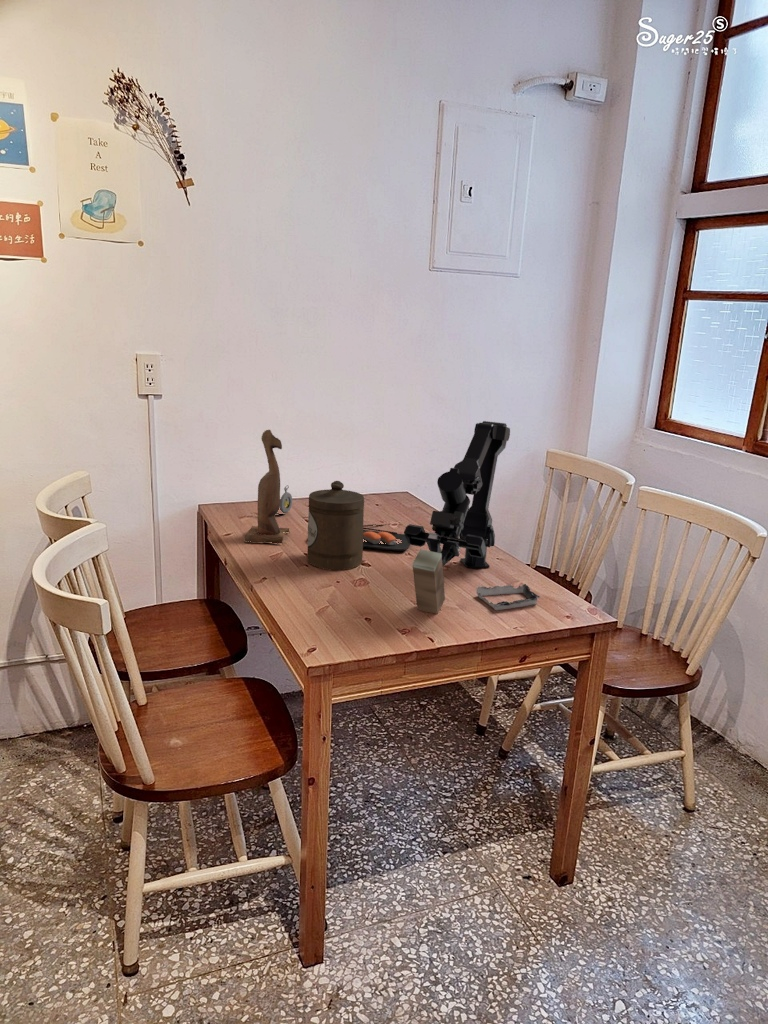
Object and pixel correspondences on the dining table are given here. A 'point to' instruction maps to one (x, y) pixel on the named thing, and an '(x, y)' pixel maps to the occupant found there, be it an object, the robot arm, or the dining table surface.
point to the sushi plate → (384, 539)
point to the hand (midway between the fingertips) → (434, 572)
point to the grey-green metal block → (429, 581)
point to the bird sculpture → (268, 498)
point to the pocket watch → (285, 501)
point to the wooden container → (335, 528)
